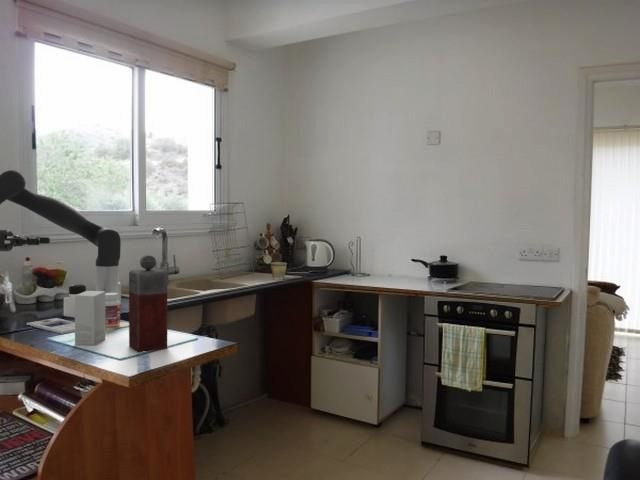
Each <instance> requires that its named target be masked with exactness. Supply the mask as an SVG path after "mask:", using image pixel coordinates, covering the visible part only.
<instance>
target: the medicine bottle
mask: <svg viewBox="0 0 640 480" xmlns="http://www.w3.org/2000/svg"><path fill="white" fill-rule="evenodd" d="M85 291H87V286H86V285H85V284H71V285H69V286H68V296H67V297H63V316H64V317H69V318H74V319H75V295H77V294H80V293H83V292H85Z"/></svg>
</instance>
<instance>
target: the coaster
mask: <svg viewBox="0 0 640 480" xmlns="http://www.w3.org/2000/svg"><path fill="white" fill-rule="evenodd" d="M124 328H129V323H126V322H125V323H124V322H121V321H120V325H118V326H114V327H105V332H108V331H109V332H110V331H114V330H118V329H124Z"/></svg>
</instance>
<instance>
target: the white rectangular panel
mask: <svg viewBox="0 0 640 480" xmlns="http://www.w3.org/2000/svg"><path fill="white" fill-rule="evenodd" d="M60 323H61V324H62V325H56V326H48V325H54V324H60ZM28 325H30V326H29V327H32V326H33V328H37V329H40V330H45V331H48V332H53V333H57V334H60V335H61V334H62V335H63V334H69V333H73V332H74V333H75V321H72V320H67V319H63V318H59V317H54V318H48V319H42V320H35V321H31V322H26V326H28Z"/></svg>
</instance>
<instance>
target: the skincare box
mask: <svg viewBox="0 0 640 480" xmlns="http://www.w3.org/2000/svg"><path fill="white" fill-rule="evenodd" d="M74 322H75V332H74V345H75V346H96V345H97V344H99V343H101V342H102V341H104V340H105V339H106V331H105V291H96V290H86V291H85V292H83V293H80V294H77V295H75V318H74Z"/></svg>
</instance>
